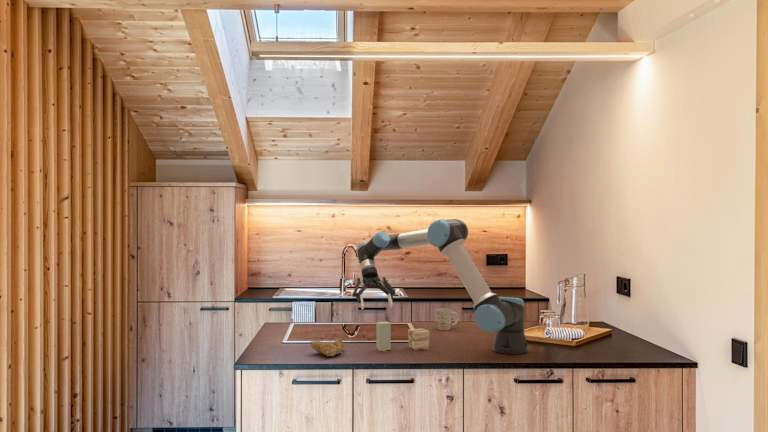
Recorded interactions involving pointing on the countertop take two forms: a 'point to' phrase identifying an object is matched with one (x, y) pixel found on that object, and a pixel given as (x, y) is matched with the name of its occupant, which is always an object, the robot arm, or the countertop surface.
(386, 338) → the pale green block
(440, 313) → the mug
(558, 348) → the countertop surface
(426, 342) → the beige wooden block
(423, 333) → the slab upper
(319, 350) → the ginger root
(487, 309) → the robot arm
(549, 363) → the countertop surface
